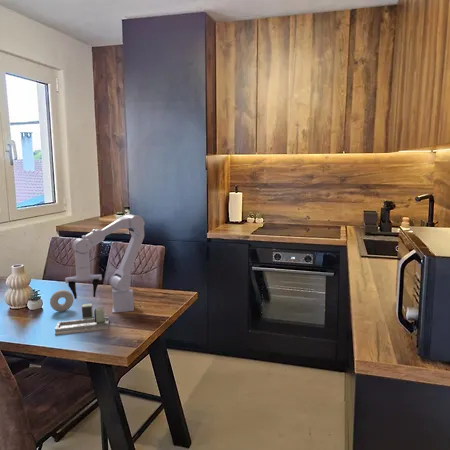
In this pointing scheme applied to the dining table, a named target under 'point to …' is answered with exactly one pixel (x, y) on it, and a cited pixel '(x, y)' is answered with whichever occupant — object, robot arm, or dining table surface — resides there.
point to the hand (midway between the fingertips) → (85, 297)
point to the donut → (57, 296)
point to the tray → (84, 324)
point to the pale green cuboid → (87, 311)
